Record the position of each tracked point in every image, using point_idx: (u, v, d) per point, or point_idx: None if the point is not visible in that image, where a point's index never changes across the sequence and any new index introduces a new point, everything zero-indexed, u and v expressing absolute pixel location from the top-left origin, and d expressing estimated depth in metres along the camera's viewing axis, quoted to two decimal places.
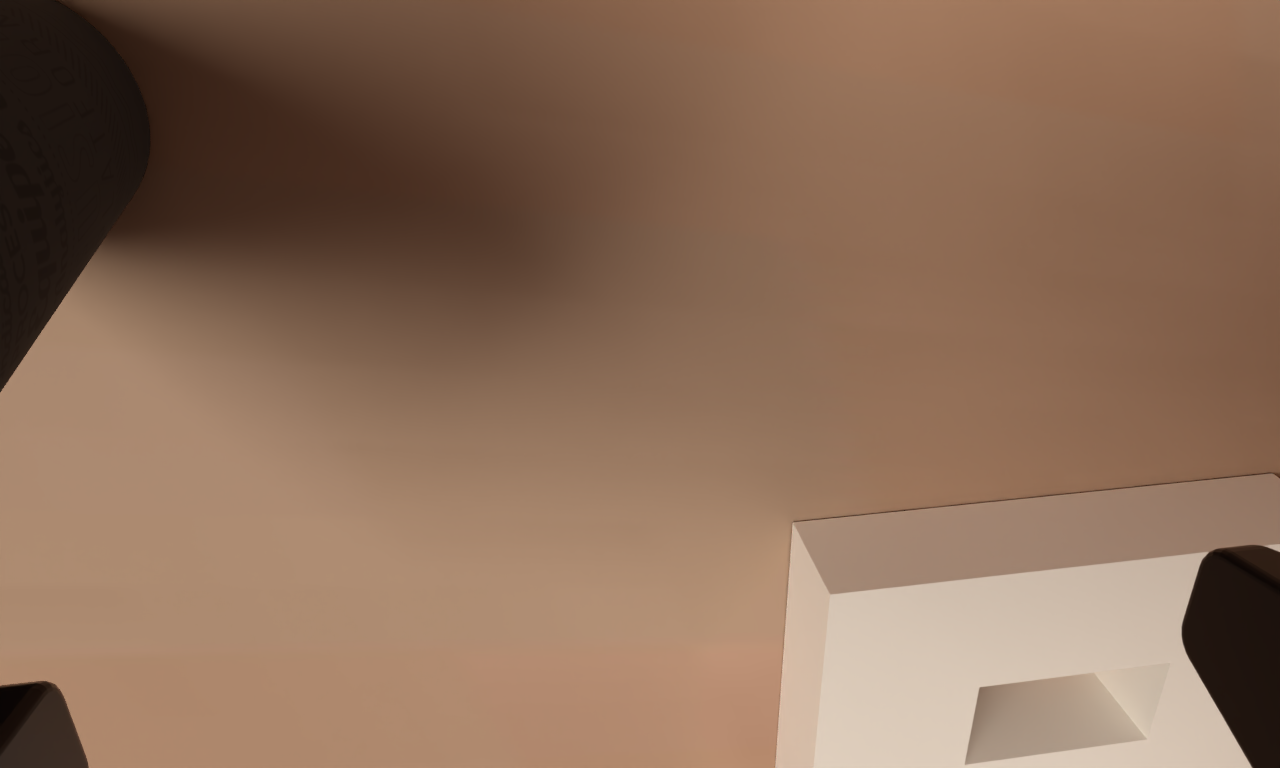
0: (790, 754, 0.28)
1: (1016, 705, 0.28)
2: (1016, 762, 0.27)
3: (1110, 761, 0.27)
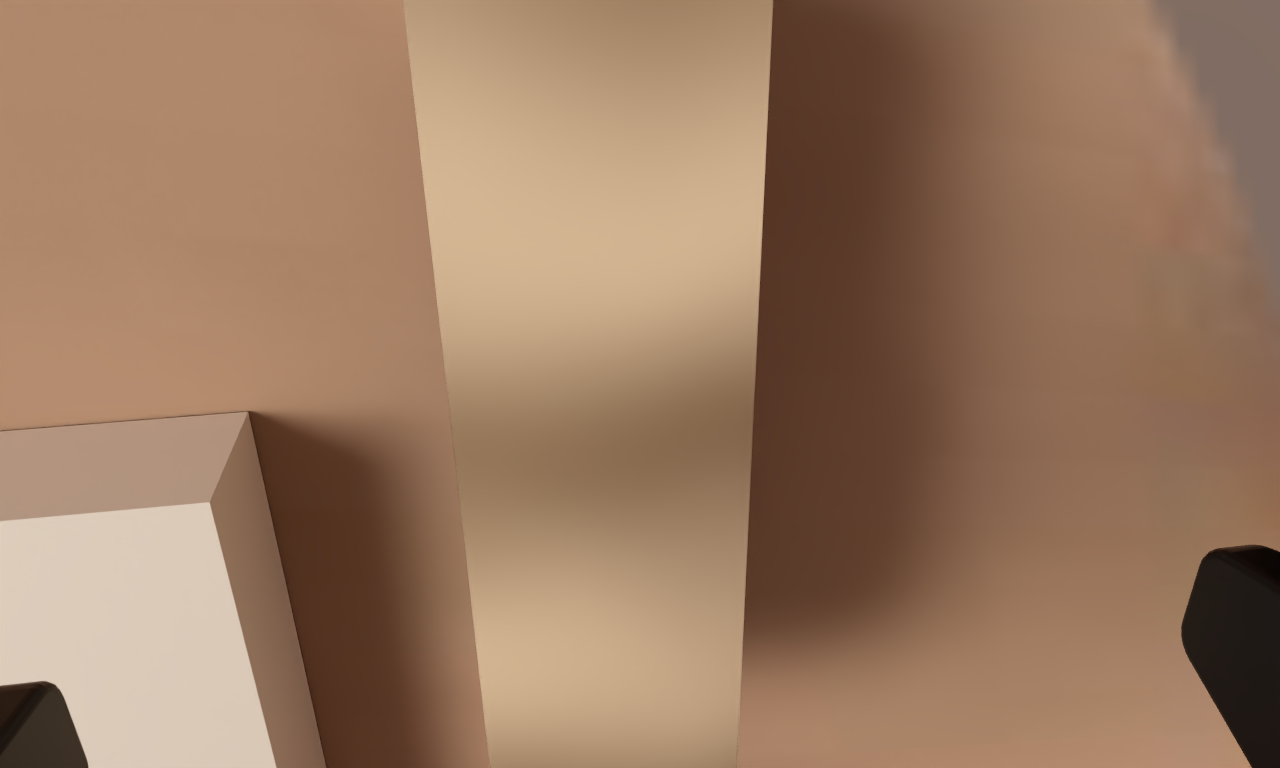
0: None
1: None
2: None
3: None
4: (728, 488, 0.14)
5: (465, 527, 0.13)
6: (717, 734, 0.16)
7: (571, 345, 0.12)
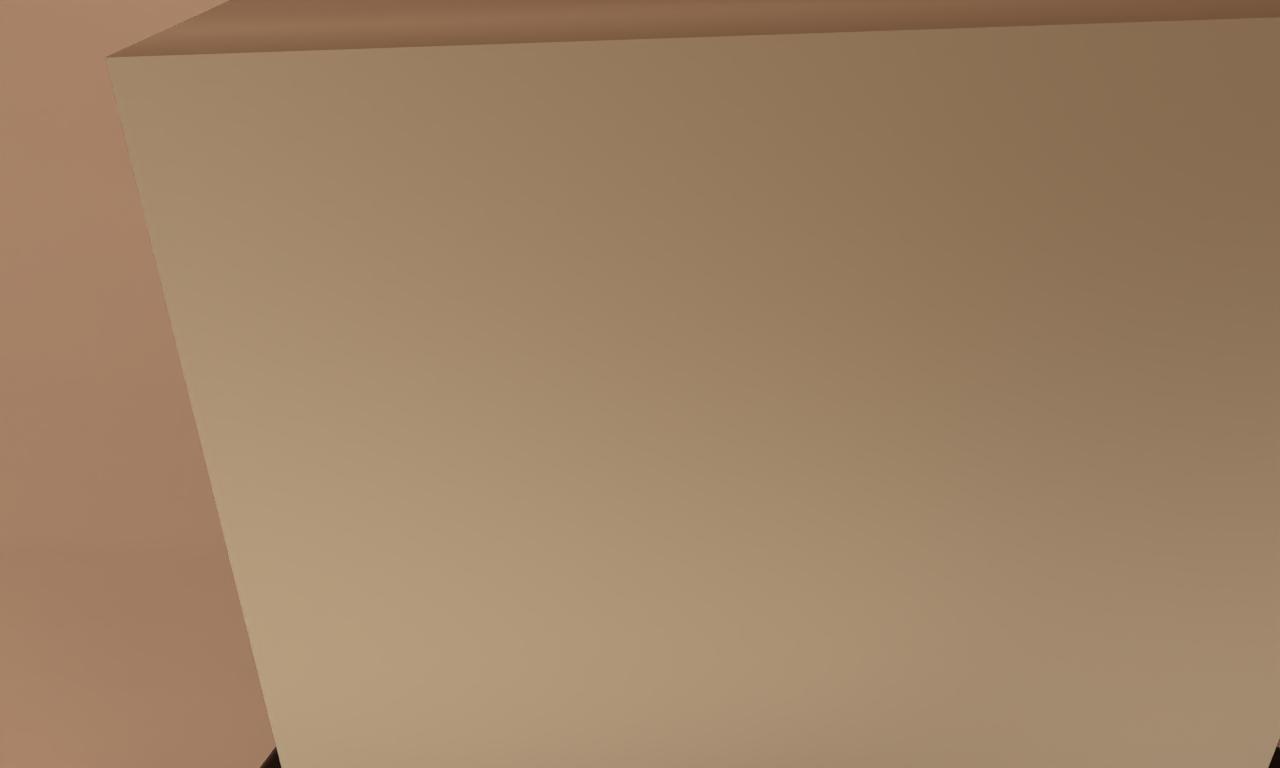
0: None
1: None
2: None
3: None
4: None
5: None
6: None
7: None
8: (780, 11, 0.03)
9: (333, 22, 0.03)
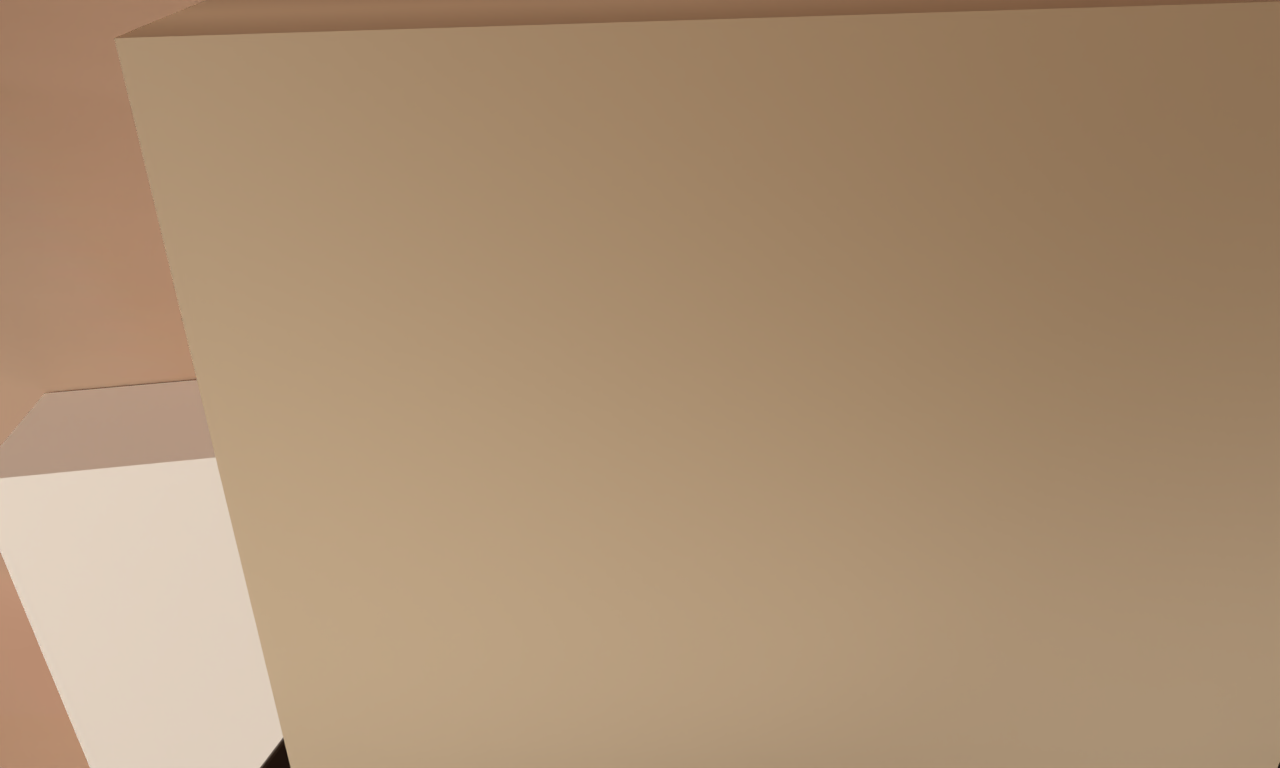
0: None
1: None
2: None
3: None
4: None
5: None
6: None
7: None
8: None
9: (343, 6, 0.03)
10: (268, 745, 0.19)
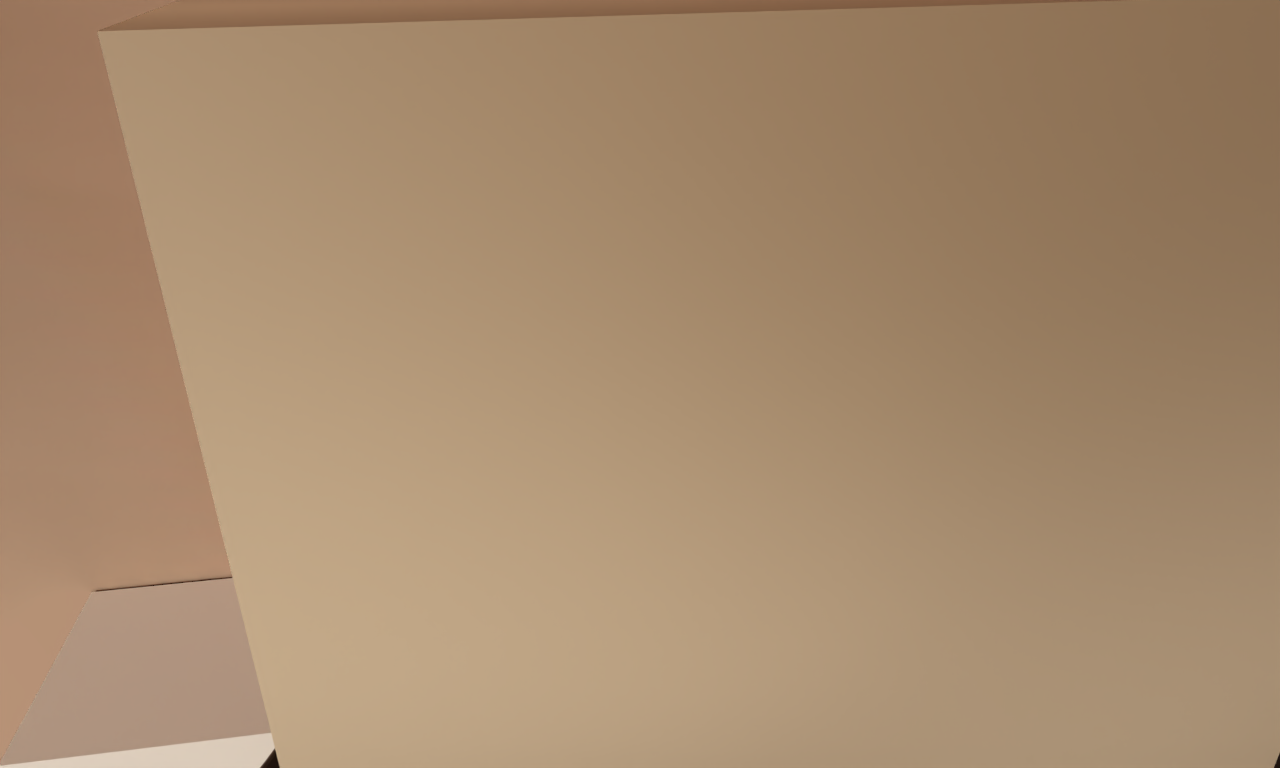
0: None
1: None
2: None
3: None
4: None
5: None
6: None
7: None
8: None
9: (332, 1, 0.03)
10: None
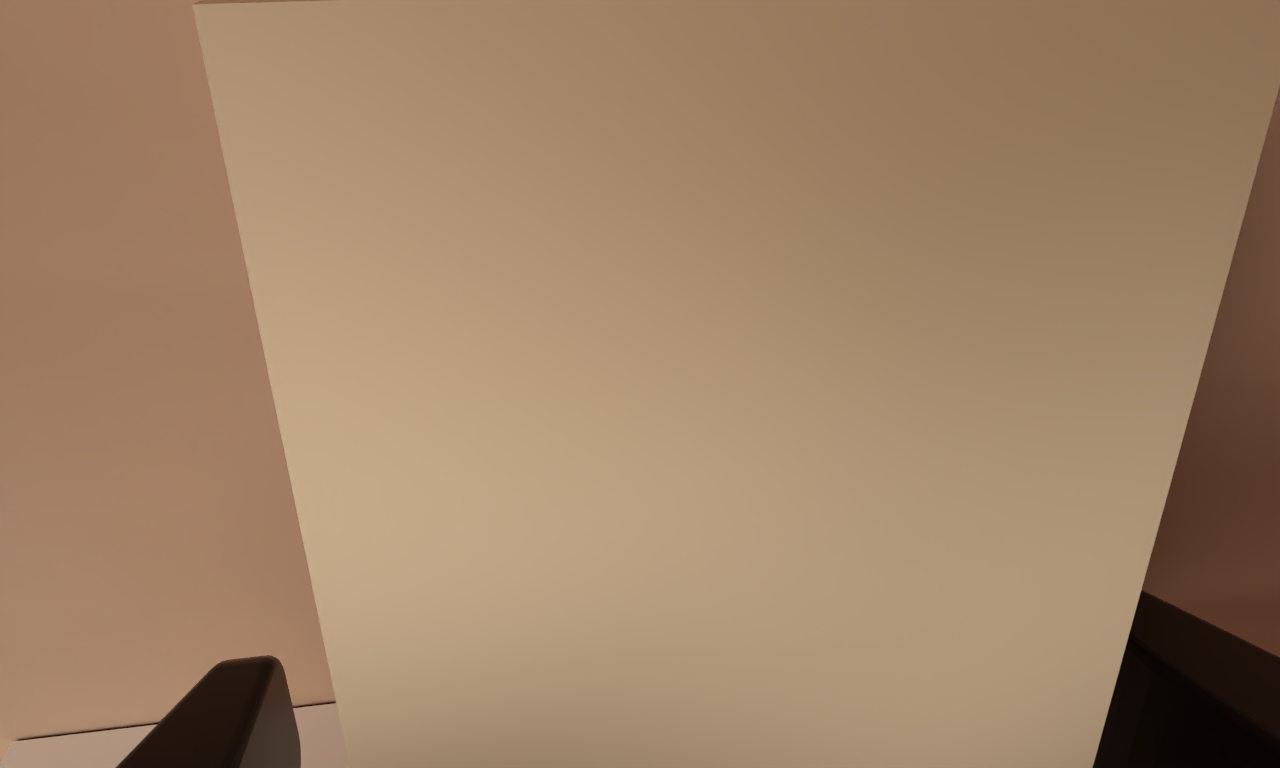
0: None
1: None
2: None
3: None
4: None
5: None
6: None
7: None
8: None
9: None
10: None
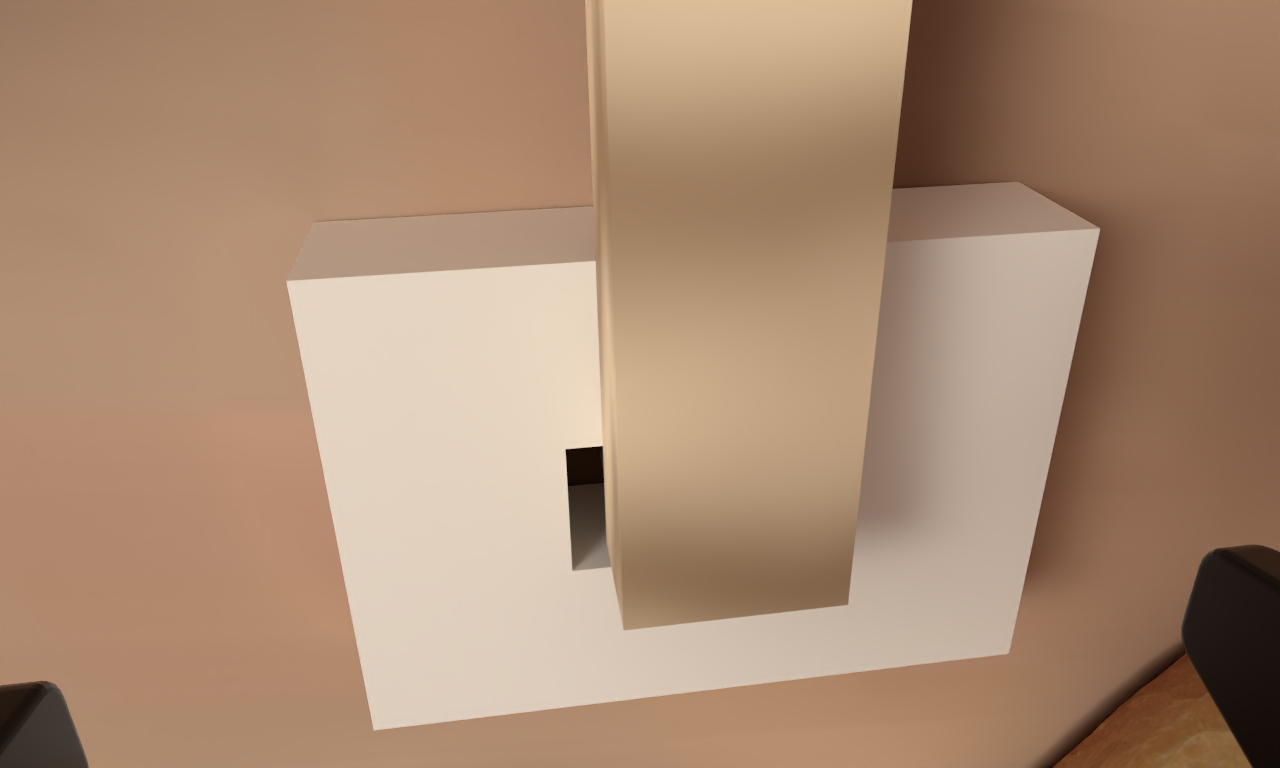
0: None
1: None
2: None
3: None
4: (866, 239, 0.14)
5: (614, 271, 0.14)
6: (838, 509, 0.16)
7: (727, 75, 0.13)
8: None
9: None
10: (521, 582, 0.19)
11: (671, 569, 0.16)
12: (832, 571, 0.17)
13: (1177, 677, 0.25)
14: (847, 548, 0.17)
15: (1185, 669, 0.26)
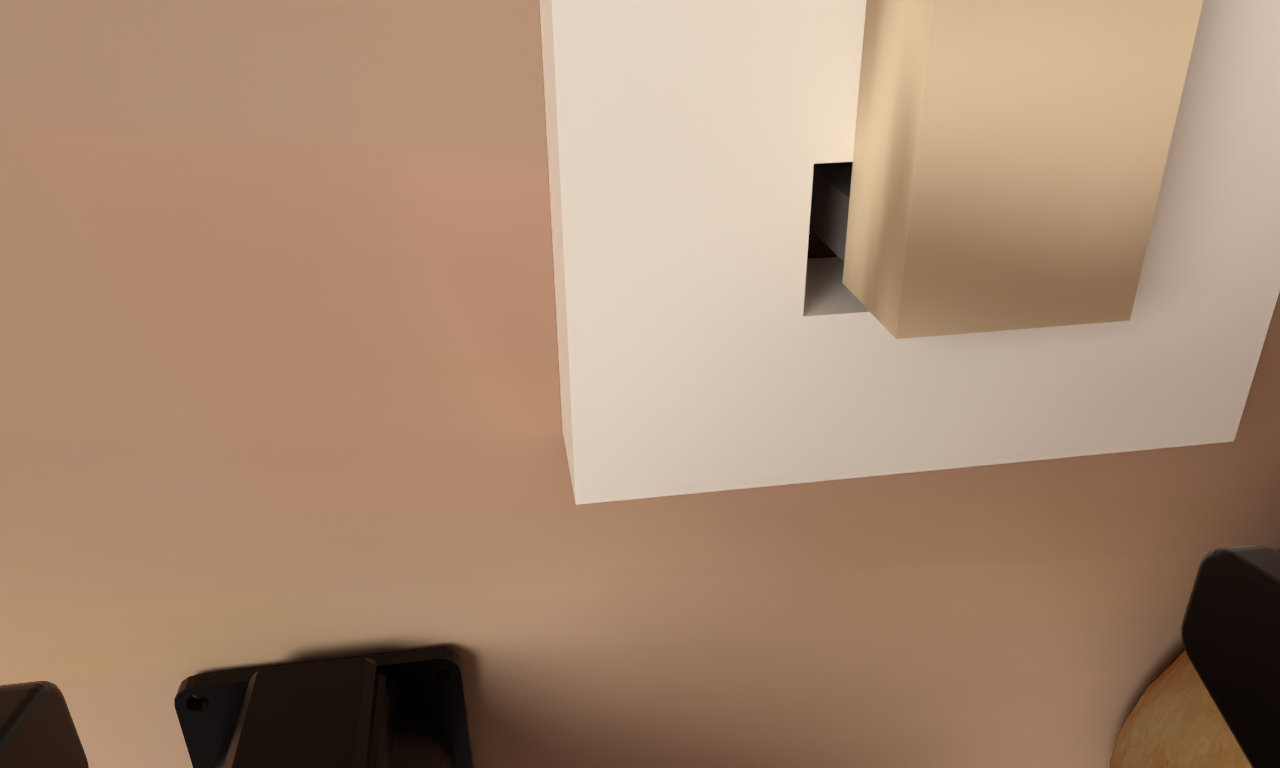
0: (561, 333, 0.19)
1: None
2: None
3: (1024, 332, 0.19)
4: None
5: None
6: (1137, 196, 0.15)
7: None
8: None
9: None
10: (749, 328, 0.18)
11: (956, 262, 0.15)
12: (1119, 275, 0.16)
13: None
14: (1140, 247, 0.15)
15: None
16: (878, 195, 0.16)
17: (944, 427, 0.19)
